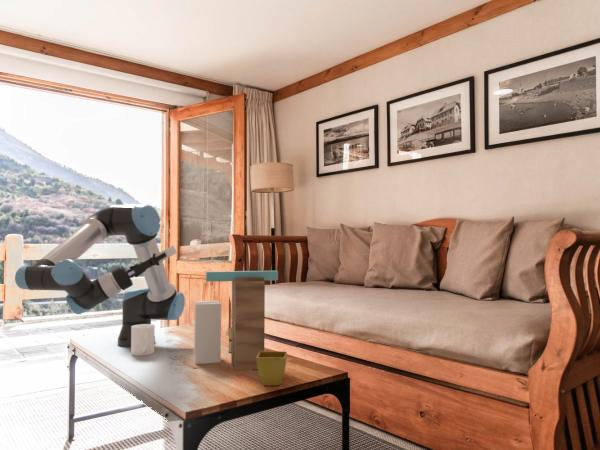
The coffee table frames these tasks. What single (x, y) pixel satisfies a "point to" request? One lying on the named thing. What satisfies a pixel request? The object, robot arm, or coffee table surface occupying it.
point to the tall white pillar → (207, 332)
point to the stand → (247, 322)
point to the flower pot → (271, 367)
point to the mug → (142, 339)
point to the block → (240, 275)
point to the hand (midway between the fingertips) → (175, 248)
